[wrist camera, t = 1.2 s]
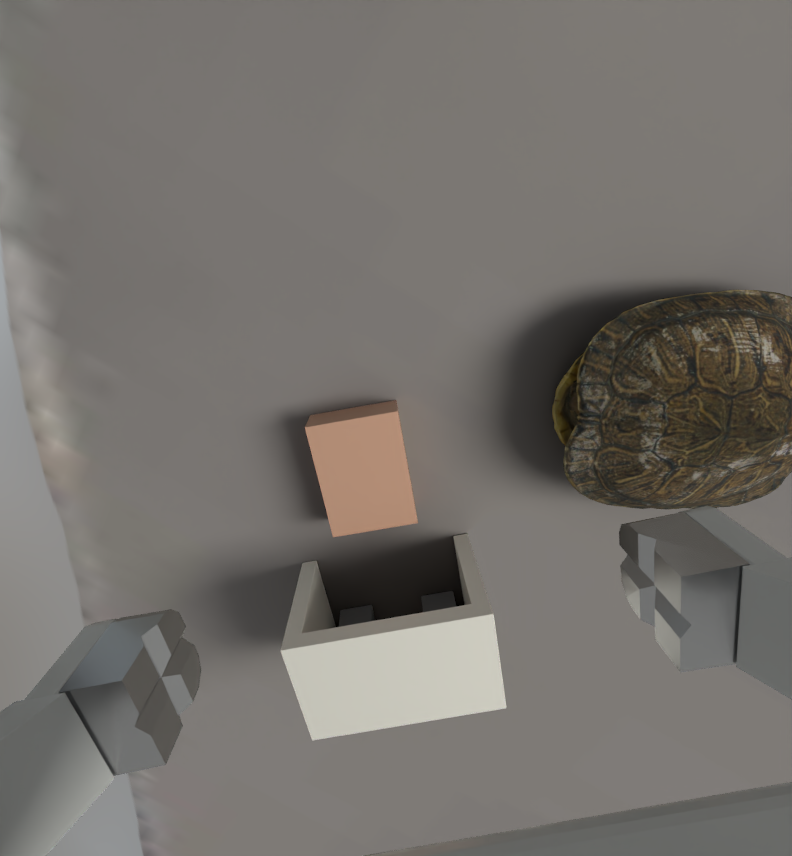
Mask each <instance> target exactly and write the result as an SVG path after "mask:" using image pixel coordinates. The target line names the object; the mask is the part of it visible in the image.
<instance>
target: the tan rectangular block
mask: <svg viewBox="0 0 792 856" xmlns="http://www.w3.org/2000/svg"><path fill="white" fill-rule="evenodd" d="M305 430H306V434H307V438H308V442H309V446H310V449H311V453H312V457H313V461H314V465H315V469H316V473H317V477H318V480H319V484H320V488H321V492H322V496H323V500H324V504H325V508H326V511H327V515H328V519H329V523H330V527H331V531H332V535H333V537H338V536H344V535H350V534H356V533H362V532H368V531H373V530H379V529H385V528H391V527H397V526H403V525H409V524H415V523H418V520H417V514H416V507H415V501H414V496H413V490H412V485H411V479H410V474H409V468H408V462H407V457H406V451H405V446H404V440H403V434H402V429H401V423H400V418H399V412H398V407H397V401H396V400H394V401H388V402H383V403H377V404H371V405H365V406H360V407H354V408H348V409H343V410H337V411H331V412H326V413H320V414H314V415H310V417H309V419H308V421H307V424H306V426H305Z"/></svg>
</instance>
